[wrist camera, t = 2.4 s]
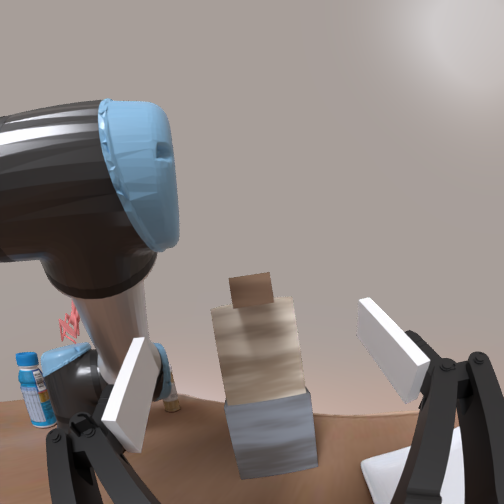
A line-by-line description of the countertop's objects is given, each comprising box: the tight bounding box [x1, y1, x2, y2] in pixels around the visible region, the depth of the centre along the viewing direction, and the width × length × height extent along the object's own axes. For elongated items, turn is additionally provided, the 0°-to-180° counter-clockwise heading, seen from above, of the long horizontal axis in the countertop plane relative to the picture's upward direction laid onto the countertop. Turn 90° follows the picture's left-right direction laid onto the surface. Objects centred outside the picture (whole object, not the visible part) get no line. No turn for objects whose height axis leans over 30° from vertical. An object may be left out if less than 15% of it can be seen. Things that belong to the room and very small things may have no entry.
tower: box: [211, 297, 318, 479], centre depth 43 cm, size 19×12×28 cm, turn 1°
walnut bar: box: [229, 272, 274, 309], centre depth 40 cm, size 28×4×3 cm, turn 1°
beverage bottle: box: [16, 352, 57, 428], centre depth 46 cm, size 8×8×20 cm
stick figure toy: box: [59, 300, 80, 344], centre depth 69 cm, size 15×26×35 cm, turn 40°
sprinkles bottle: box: [163, 364, 180, 412], centre depth 65 cm, size 5×5×13 cm
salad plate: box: [361, 426, 465, 504], centre depth 15 cm, size 21×21×3 cm
